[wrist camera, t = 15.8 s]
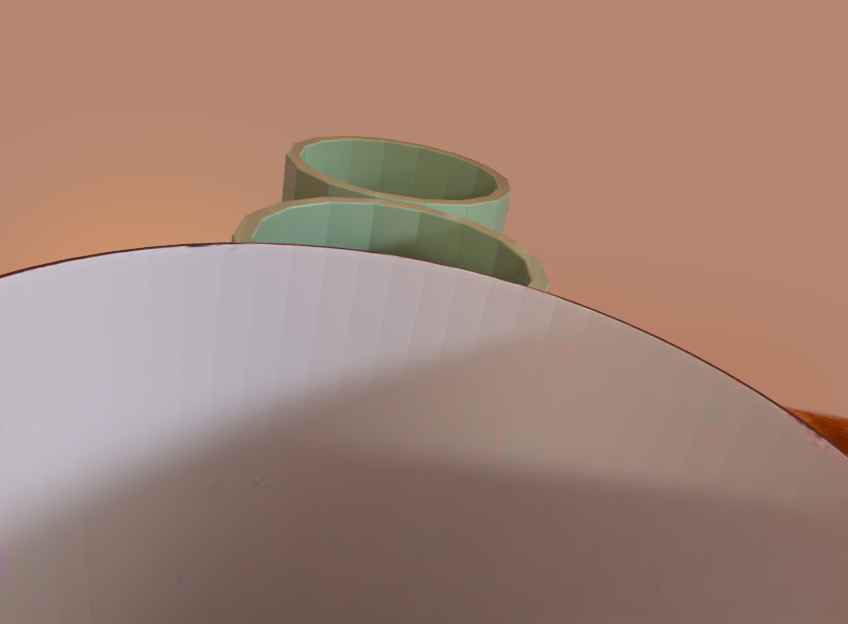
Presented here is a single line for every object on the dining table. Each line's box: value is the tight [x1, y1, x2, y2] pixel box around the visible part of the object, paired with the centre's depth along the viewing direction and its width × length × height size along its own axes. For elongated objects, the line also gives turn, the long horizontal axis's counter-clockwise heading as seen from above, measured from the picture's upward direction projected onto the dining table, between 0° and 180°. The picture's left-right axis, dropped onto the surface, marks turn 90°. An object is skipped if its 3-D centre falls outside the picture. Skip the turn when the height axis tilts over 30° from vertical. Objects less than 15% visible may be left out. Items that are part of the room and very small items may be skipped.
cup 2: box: [232, 197, 550, 293], centre depth 17 cm, size 6×6×10 cm
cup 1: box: [282, 136, 512, 234], centre depth 23 cm, size 6×6×10 cm
